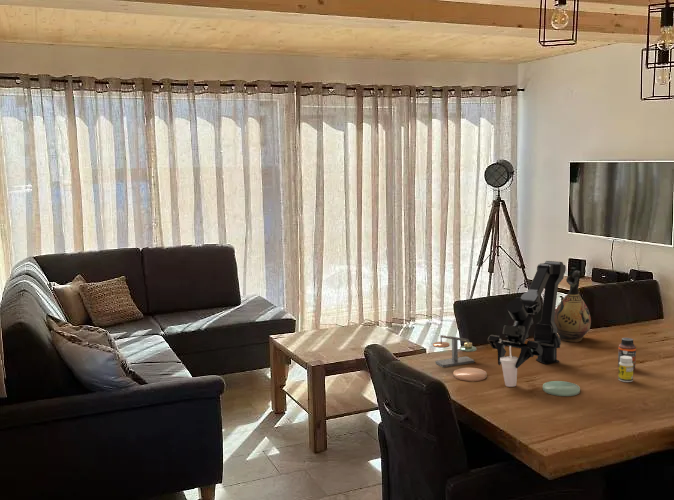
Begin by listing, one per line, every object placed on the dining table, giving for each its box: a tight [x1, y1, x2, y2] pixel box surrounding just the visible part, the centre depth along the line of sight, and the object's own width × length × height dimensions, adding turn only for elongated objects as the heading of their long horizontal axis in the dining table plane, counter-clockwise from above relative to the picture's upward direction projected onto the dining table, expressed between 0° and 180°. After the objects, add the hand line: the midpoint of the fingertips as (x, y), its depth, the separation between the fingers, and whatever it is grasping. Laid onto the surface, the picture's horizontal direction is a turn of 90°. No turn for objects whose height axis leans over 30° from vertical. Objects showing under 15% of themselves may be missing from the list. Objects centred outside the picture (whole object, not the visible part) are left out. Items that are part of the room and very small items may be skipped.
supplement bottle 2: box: [617, 356, 634, 383], centre depth 232 cm, size 5×5×8 cm
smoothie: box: [500, 346, 519, 388], centre depth 231 cm, size 6×6×14 cm
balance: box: [432, 334, 477, 368], centre depth 259 cm, size 18×6×12 cm, turn 110°
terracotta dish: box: [453, 367, 488, 382], centre depth 243 cm, size 12×12×1 cm
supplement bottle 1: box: [617, 337, 637, 371], centre depth 245 cm, size 6×6×11 cm
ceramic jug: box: [554, 270, 592, 343], centre depth 286 cm, size 17×15×30 cm
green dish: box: [542, 380, 581, 397], centre depth 225 cm, size 12×12×1 cm
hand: (507, 366), depth 230 cm, fingers closed on smoothie, 6 cm apart
